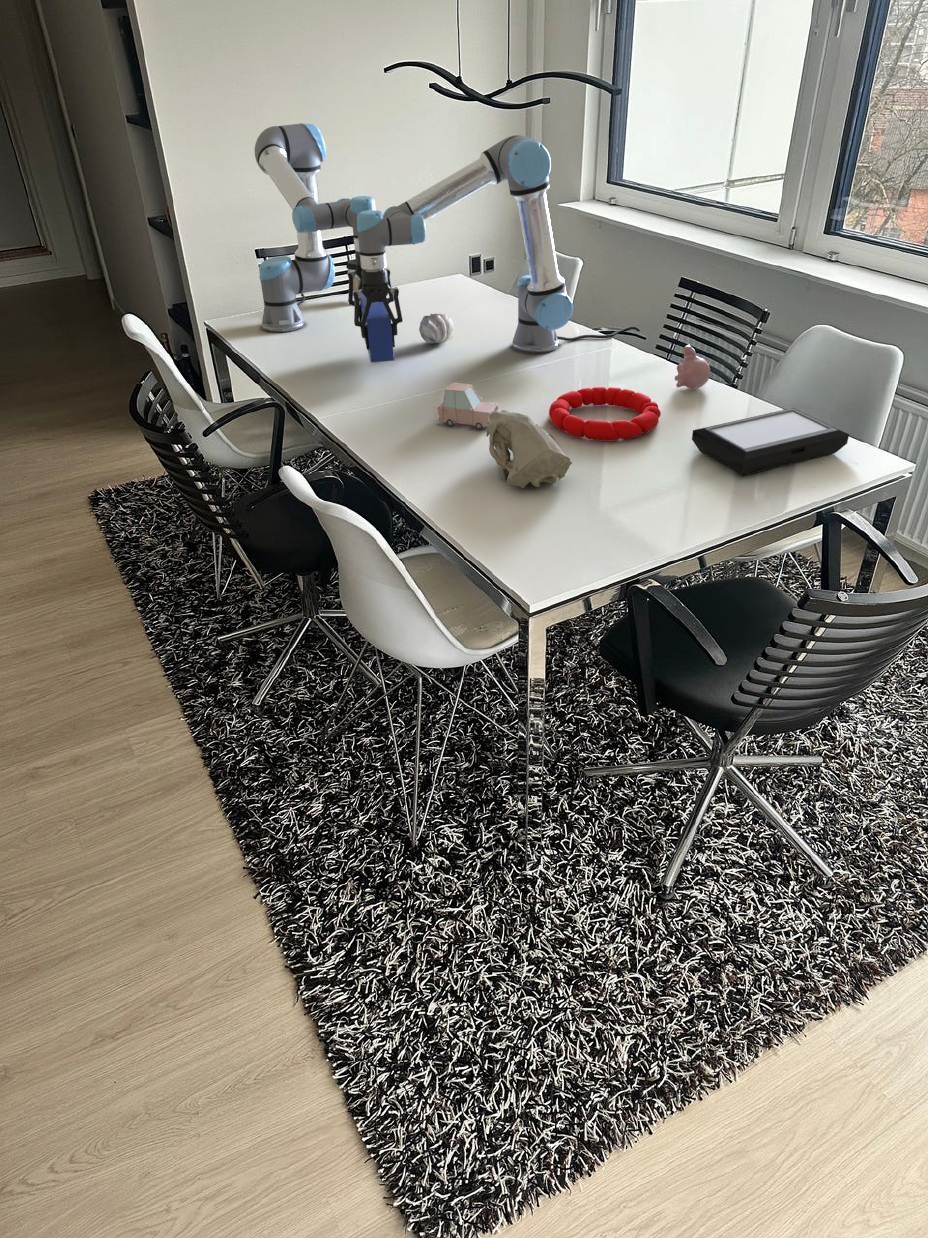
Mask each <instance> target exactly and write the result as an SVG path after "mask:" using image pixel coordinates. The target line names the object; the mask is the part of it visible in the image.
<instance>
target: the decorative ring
mask: <svg viewBox="0 0 928 1238" xmlns="http://www.w3.org/2000/svg"><path fill="white" fill-rule="evenodd" d="M583 405H584V406H586V407H587V406H591V405H593V406H604V405H608V406H614V407H619V408H624V409H628V410H632V411H635V412H636V413H638V414H639V415H637V416H635V417H632V418H631V419H630V420H625V419H624V420H623V419H622V420H614V421H611V422H609V421H607V420H606V421H605V420H593V419H587V420H586V421H585V419H584V418H582V417H579V416H577V415H573V414H571V413H570V410H571V409H579V408H581V407H582V406H583ZM548 416H549V419H550V422H551V423H552V425H553V426H554V427H555V428H556V429H558V430H559V431H561V432H563V433H567V434H568V435H569V436H573V437H576V438H580V439H582V438H583V437H585V438H586V439H587V440H591V441H601V442H602V441H603V442H608V441H609V442H610V441H611V442H612V441H615V442H616V441H618V440H630V439H634V438H638V437H641V436H642V434H647V433H650V432H651V431H653V430H654V429H655V428H656V427H657V426H658V424H659V422H660V421H659V420H660V417H661V410H660V408H659V405H658V403H657V402H656V401H652V399H651V397H649V396H648V395H646V394H644V393H642V392H635V391H634V390H632V389H628V388H624V389H622V388H620V387H613V386H612V387H611V386H610V387H608V388H606V387H604V386H594V387H585V388H584V387H583V388H580V389H578V390H571V391H568V392H565V393H563V394H561V395H560V396H558V397H557V398H556V400H554V401H552V403H551V404H550V407H549V409H548Z"/></svg>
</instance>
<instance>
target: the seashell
mask: <svg viewBox="0 0 928 1238" xmlns="http://www.w3.org/2000/svg"><path fill="white" fill-rule="evenodd" d="M418 331H419V334H420V337H421V338H422V339H423V341H425V342H426V343H428V344H435V343H436V344H443V343H446V342H447V341H448V339H450V337H451V336H452V334H453V332H454V323H453V321H452V319H451V317H450V316H447V314H446V313H444V314H443V313H433V312H432V313H430V315H424V316H423V317H422V319H421V320H420V323H419V327H418Z"/></svg>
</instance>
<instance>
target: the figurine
mask: <svg viewBox="0 0 928 1238" xmlns="http://www.w3.org/2000/svg"><path fill="white" fill-rule="evenodd" d="M682 354H683V358H684V359H683V361H682V362H679V363H678V364H677V365H676V372H677V375H675V376H674V381H675V382H676V381H677V382H676V384H675V386H676V388H681V387H686V388H688V389H693V390H694V389H695V390H696V389H700V388H703V387H704V386H705V385H706V384H707V383H708V382H709V379H710V377H711V367H710V364H709V362H708V361H706V359H704V358H702V357H700V356H697V353H696V350H695V349H694V347H692V345H690V344H686V345H685V346H684V347H683V348H682Z"/></svg>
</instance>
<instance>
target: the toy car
mask: <svg viewBox="0 0 928 1238" xmlns="http://www.w3.org/2000/svg"><path fill="white" fill-rule="evenodd" d="M498 409H499V404H498V403H497V402H490V401H489V402H487V401H483V397H481V396H480V395H479V394H478V393H477V391H476V390H475V389H474V386H472V384H469V383H459V382H451V383H450V384H449V385H448V386H447V387H446V388H445V389H444V394H443V399H442V403H440V404H439V405H438V406H437V413H438V421H439V422H443V423H446V425H447V426H448V427H452V426H454V425H455V424H461V425H469V426H473V427H475V429H476V430H479V431H480V430H481V429H483V428H485V427H486V428H487V423H488V422H490V414H491V413H492V412H496V411H499V410H498Z"/></svg>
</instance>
